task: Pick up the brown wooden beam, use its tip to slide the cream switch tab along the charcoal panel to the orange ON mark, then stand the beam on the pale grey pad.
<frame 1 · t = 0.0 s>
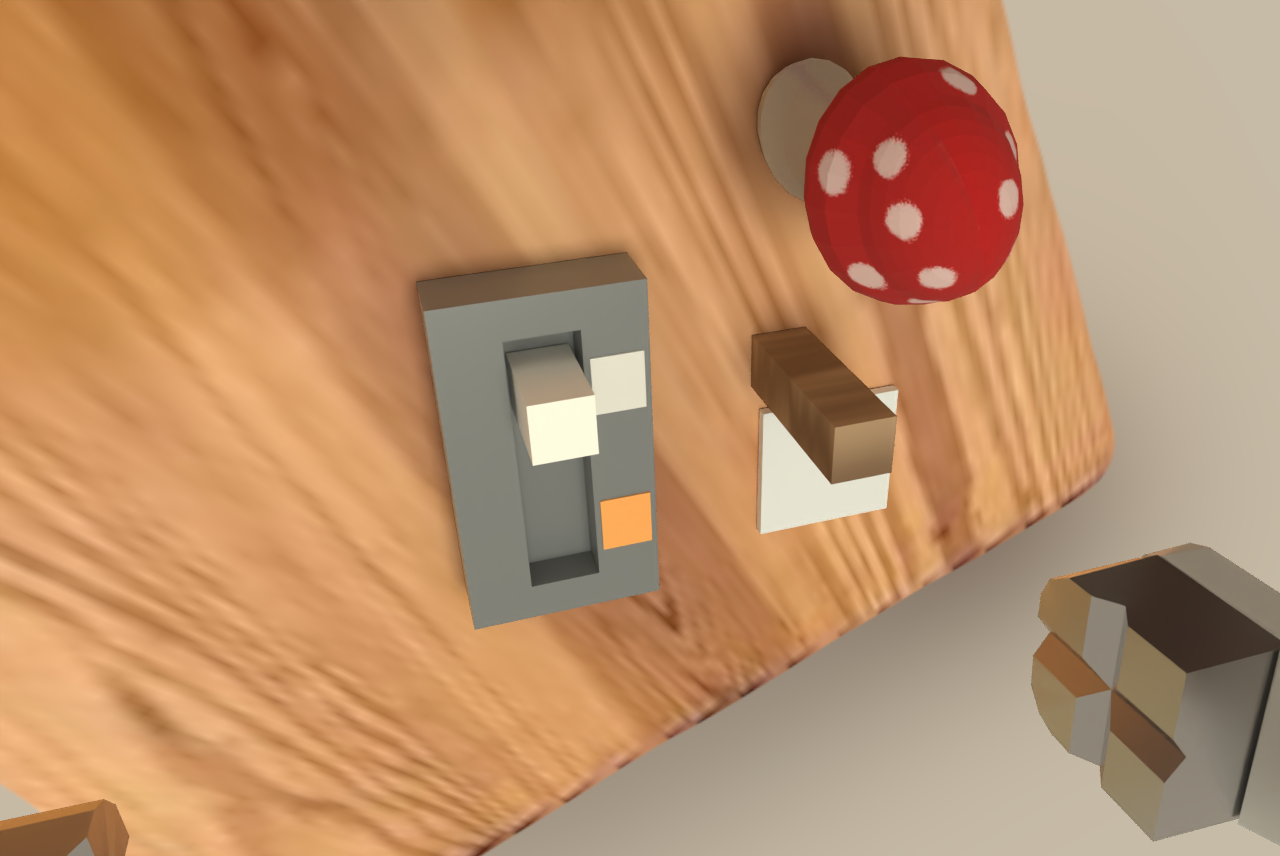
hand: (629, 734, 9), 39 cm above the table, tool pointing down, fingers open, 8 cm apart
switch panel: (540, 431, 52), on the table
brown wooden beam: (778, 356, 54), on the table
switch tab: (551, 402, 47), point 4 cm above the table, slide at 0.0 cm
decorative mushroom: (803, 125, 48), on the table
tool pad: (823, 458, 58), on the table
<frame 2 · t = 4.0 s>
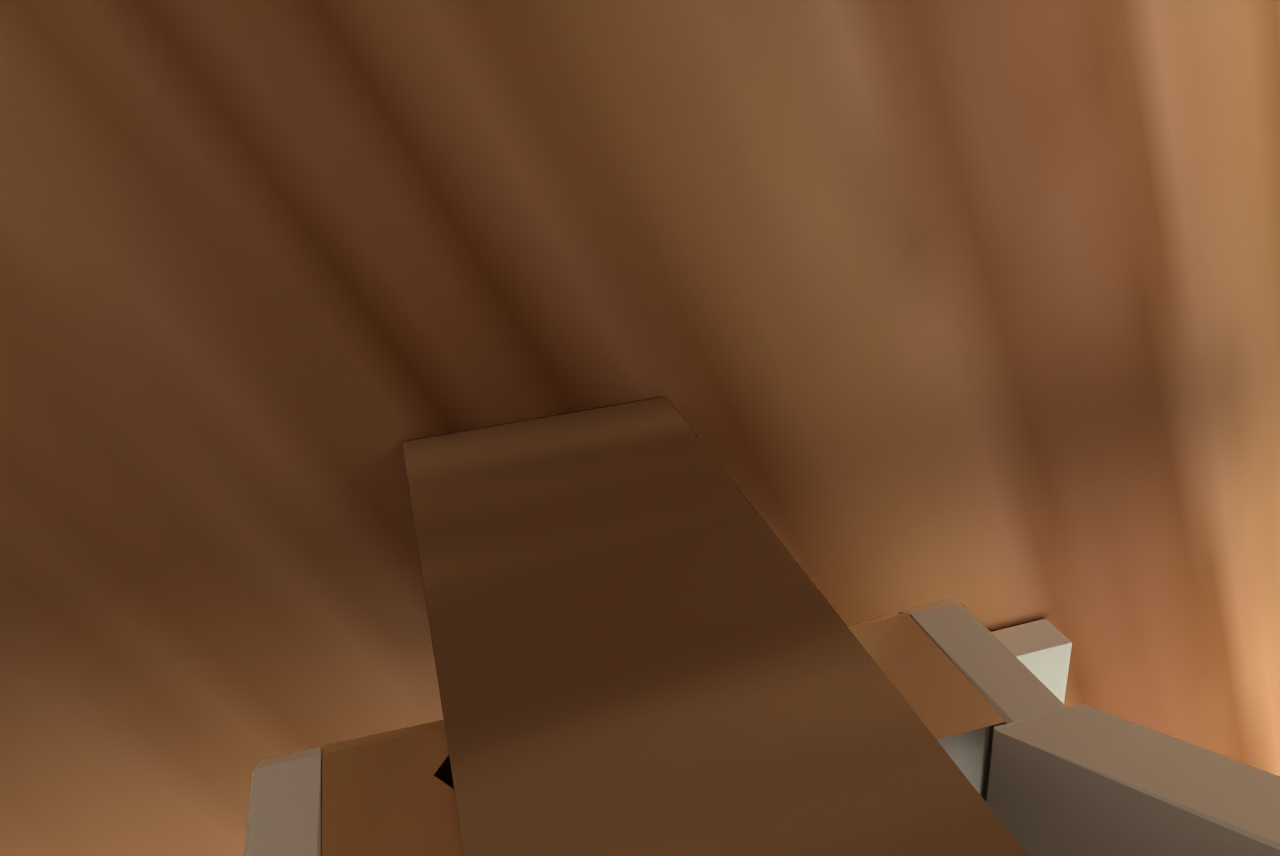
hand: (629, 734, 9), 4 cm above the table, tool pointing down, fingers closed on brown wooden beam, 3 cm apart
brown wooden beam: (551, 533, 12), on the table, touching gripper
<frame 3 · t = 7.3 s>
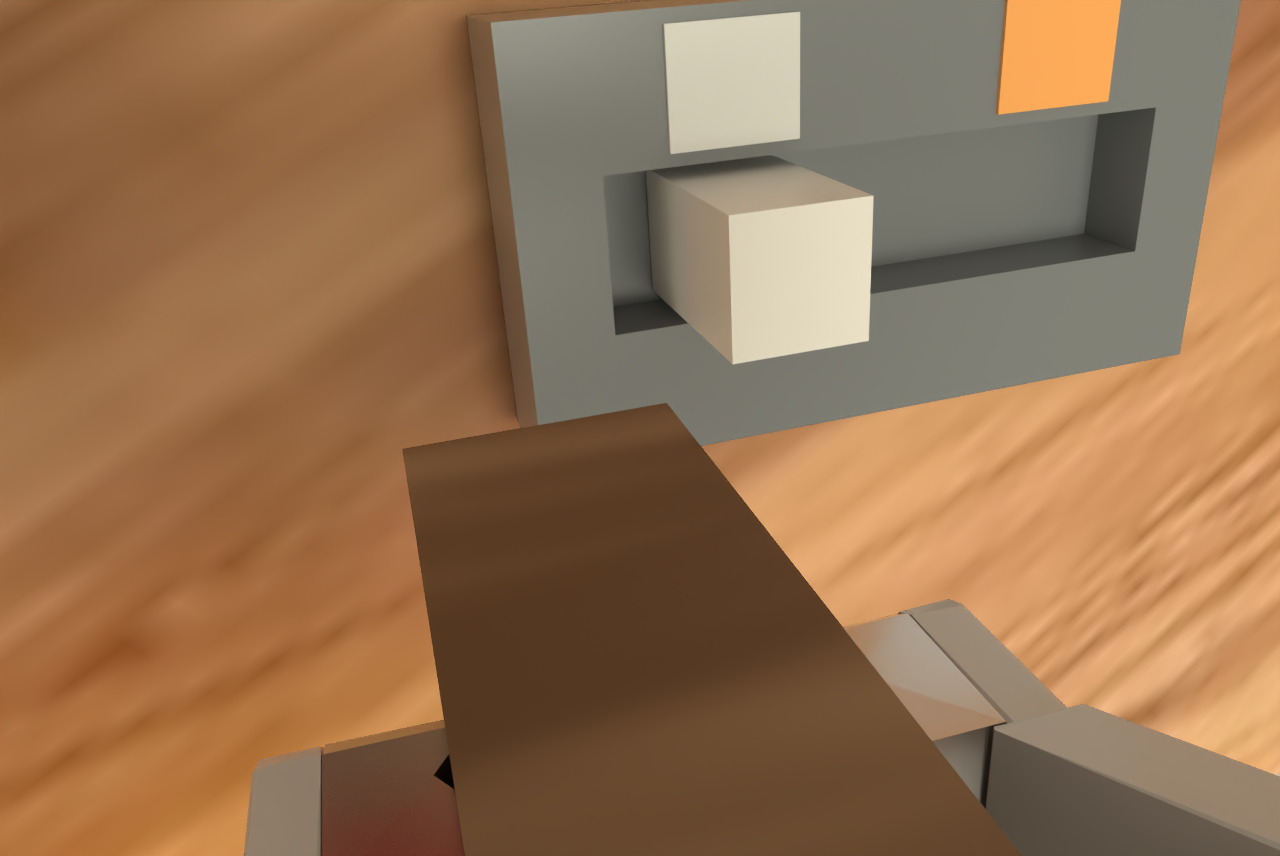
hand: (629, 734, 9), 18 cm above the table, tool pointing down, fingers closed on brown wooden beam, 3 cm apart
switch panel: (829, 189, 27), on the table
brown wooden beam: (552, 540, 12), point 14 cm above the table, touching gripper
switch tab: (750, 248, 22), point 4 cm above the table, slide at 0.0 cm
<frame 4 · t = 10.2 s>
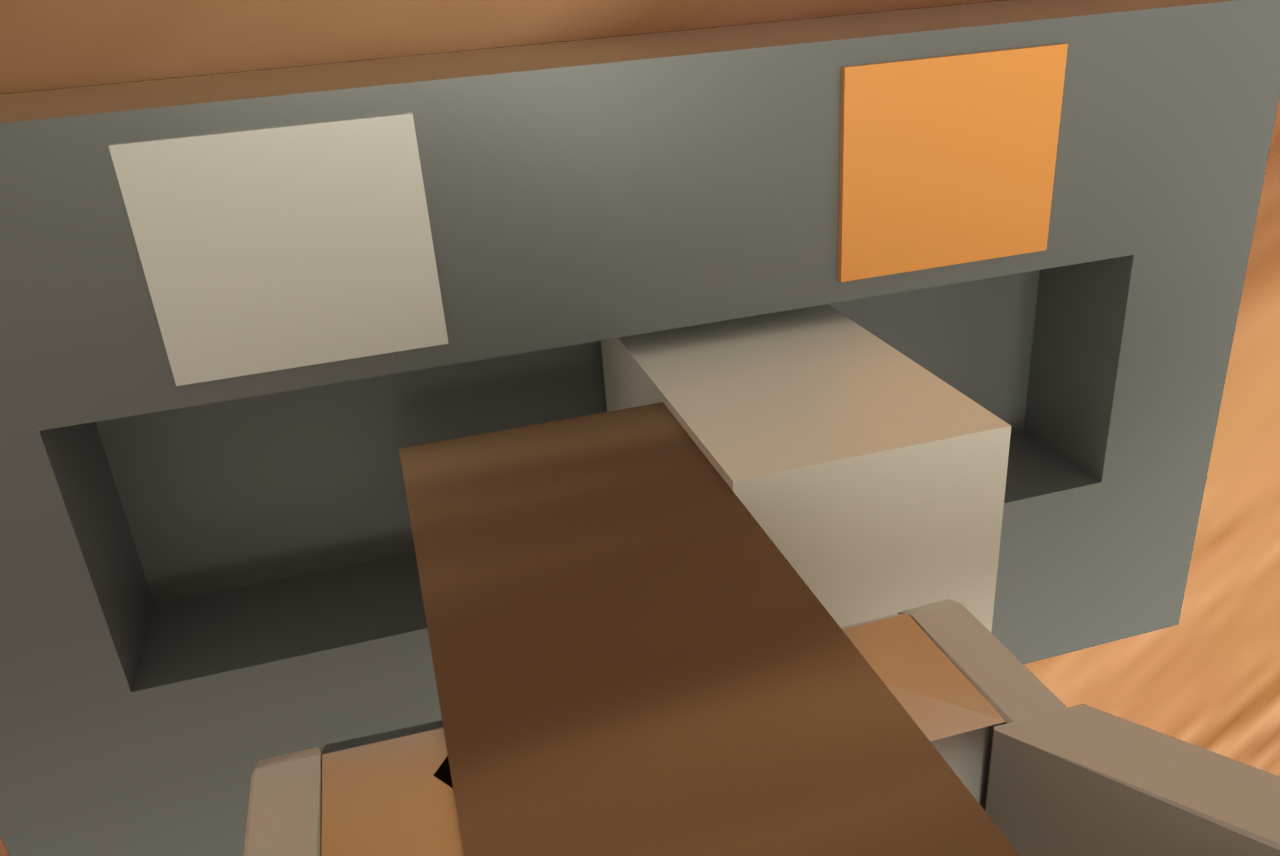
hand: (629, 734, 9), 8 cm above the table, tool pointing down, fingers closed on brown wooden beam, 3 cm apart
switch panel: (598, 369, 17), on the table
brown wooden beam: (548, 539, 12), point 5 cm above the table, touching gripper, switch tab
switch tab: (772, 469, 13), point 4 cm above the table, slide at 5.2 cm, touching brown wooden beam
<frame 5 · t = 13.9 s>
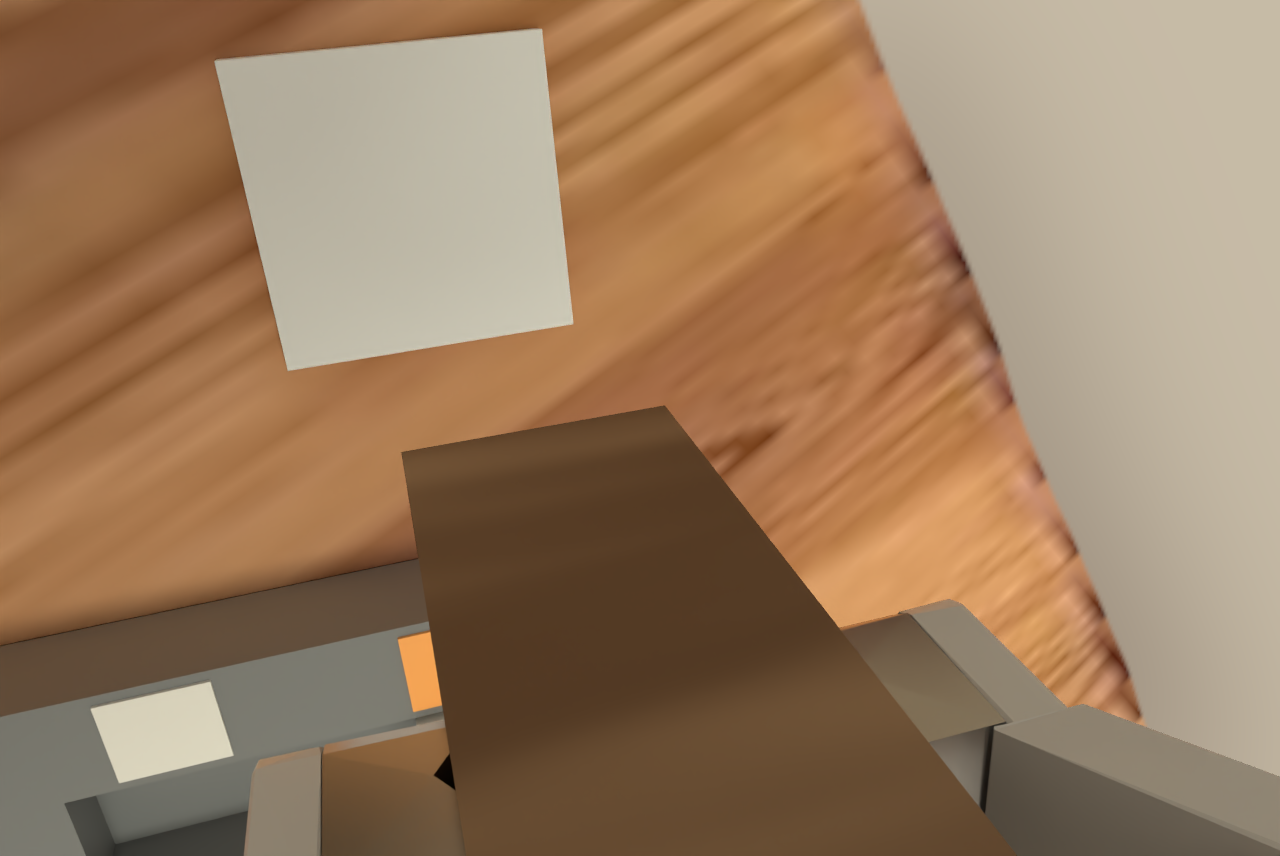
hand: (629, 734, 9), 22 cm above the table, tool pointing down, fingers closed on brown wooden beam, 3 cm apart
switch panel: (337, 711, 33), on the table
brown wooden beam: (550, 542, 12), point 18 cm above the table, touching gripper
switch tab: (478, 770, 30), point 4 cm above the table, slide at 8.0 cm
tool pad: (409, 200, 28), on the table
when the fingers open (5 cm above the table, at t = 17.3 s): brown wooden beam stays where it is, resting on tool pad.
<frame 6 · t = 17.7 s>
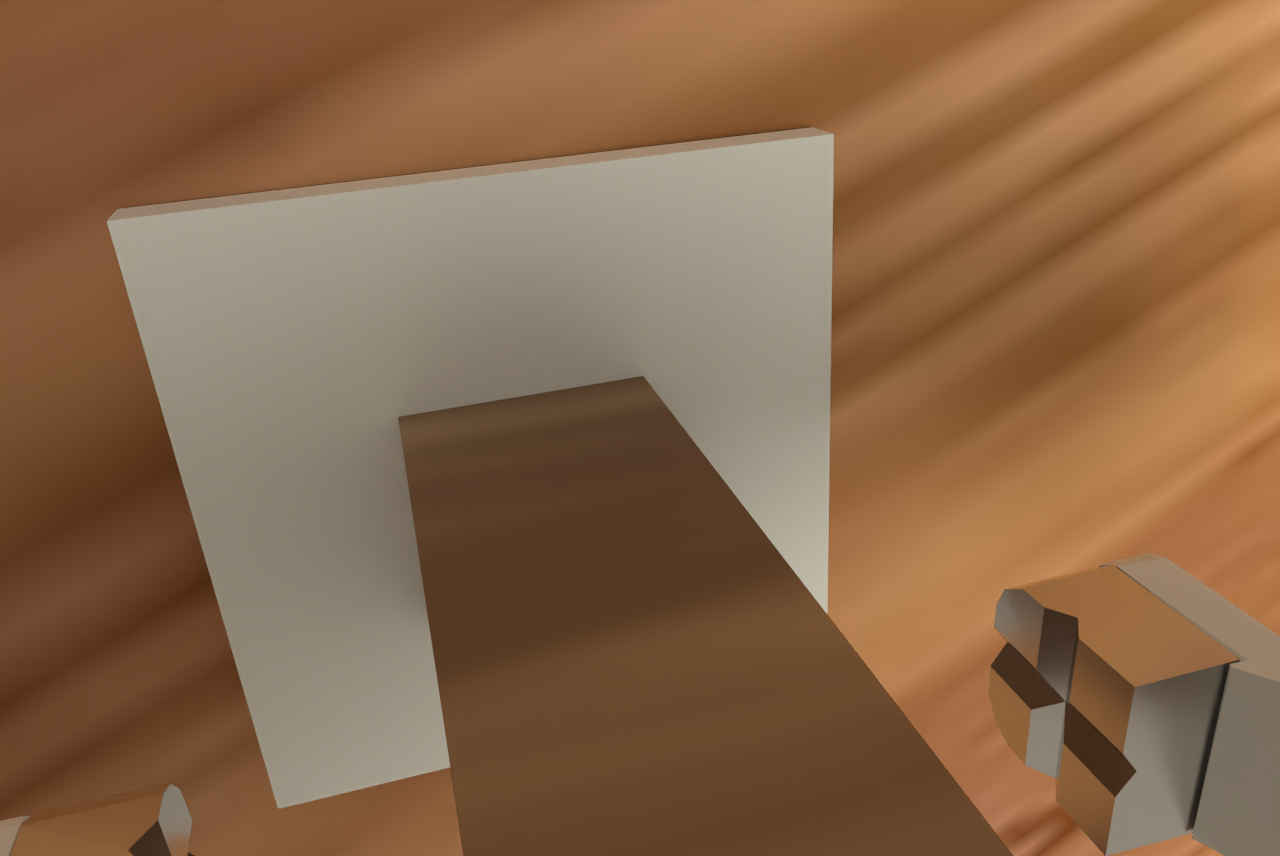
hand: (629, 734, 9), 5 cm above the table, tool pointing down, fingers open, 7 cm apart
brown wooden beam: (537, 504, 13), point 1 cm above the table, touching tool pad
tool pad: (529, 473, 13), on the table
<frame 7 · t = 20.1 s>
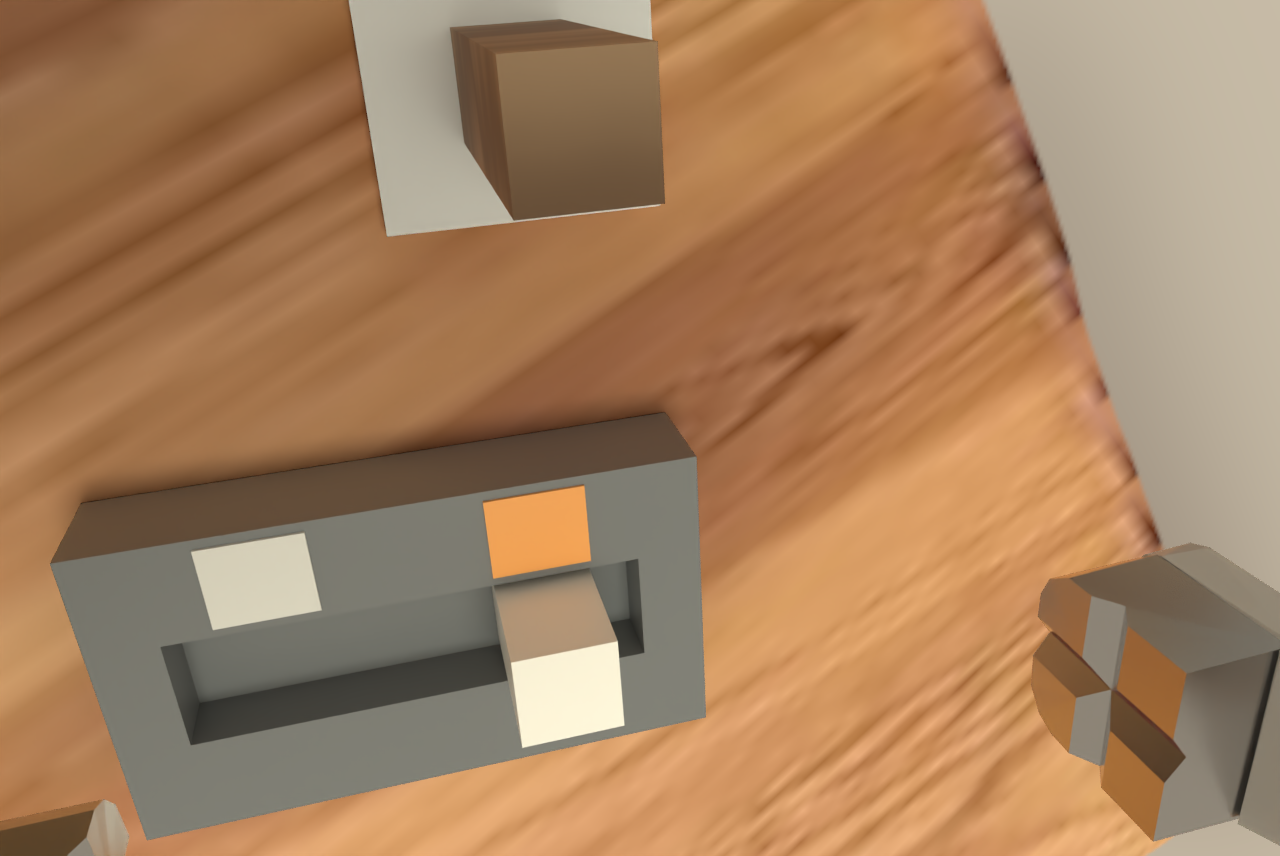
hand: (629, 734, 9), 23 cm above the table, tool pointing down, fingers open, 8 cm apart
switch panel: (413, 588, 34), on the table
brown wooden beam: (512, 81, 28), point 1 cm above the table, touching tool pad
switch tab: (553, 639, 31), point 4 cm above the table, slide at 8.0 cm
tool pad: (509, 74, 28), on the table
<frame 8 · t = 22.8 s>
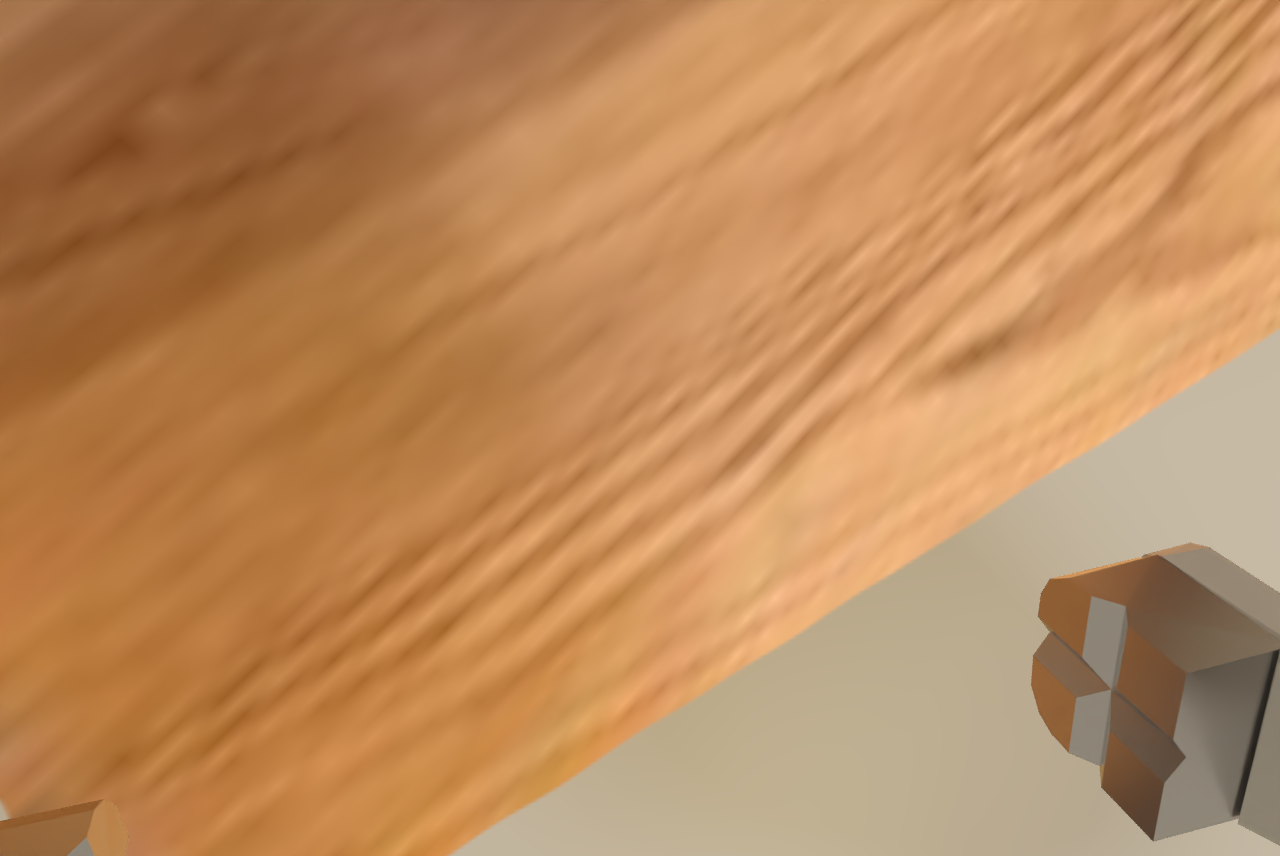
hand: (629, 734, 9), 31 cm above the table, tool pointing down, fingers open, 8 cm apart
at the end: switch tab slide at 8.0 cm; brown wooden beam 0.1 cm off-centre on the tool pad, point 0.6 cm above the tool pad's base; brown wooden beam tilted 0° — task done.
